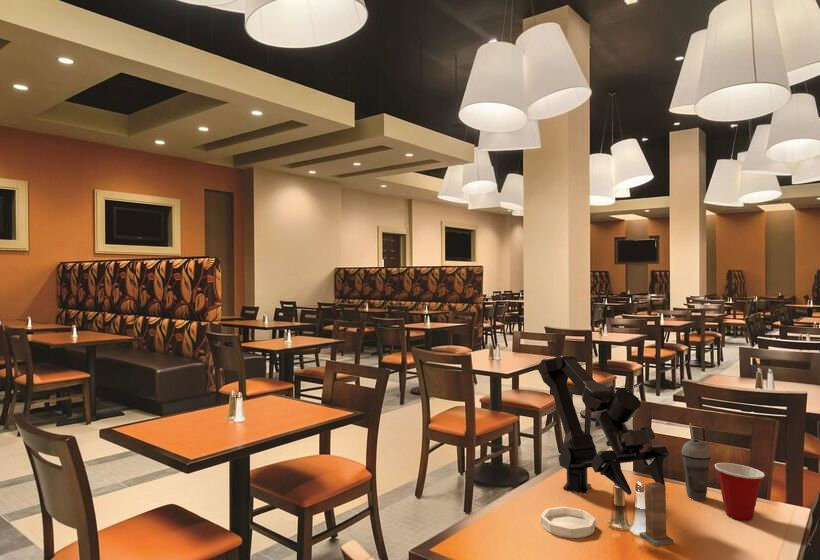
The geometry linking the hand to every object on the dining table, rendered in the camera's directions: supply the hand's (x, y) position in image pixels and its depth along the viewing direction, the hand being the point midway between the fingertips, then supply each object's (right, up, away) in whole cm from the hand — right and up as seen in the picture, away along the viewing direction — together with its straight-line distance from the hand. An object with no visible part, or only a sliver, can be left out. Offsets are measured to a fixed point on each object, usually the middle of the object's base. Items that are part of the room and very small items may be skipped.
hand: (647, 491), depth 128 cm
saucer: (-17, -10, +5) cm, 21 cm away
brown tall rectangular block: (+1, -10, -3) cm, 10 cm away
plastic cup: (+27, -10, +9) cm, 30 cm away
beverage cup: (+22, -10, +21) cm, 32 cm away
